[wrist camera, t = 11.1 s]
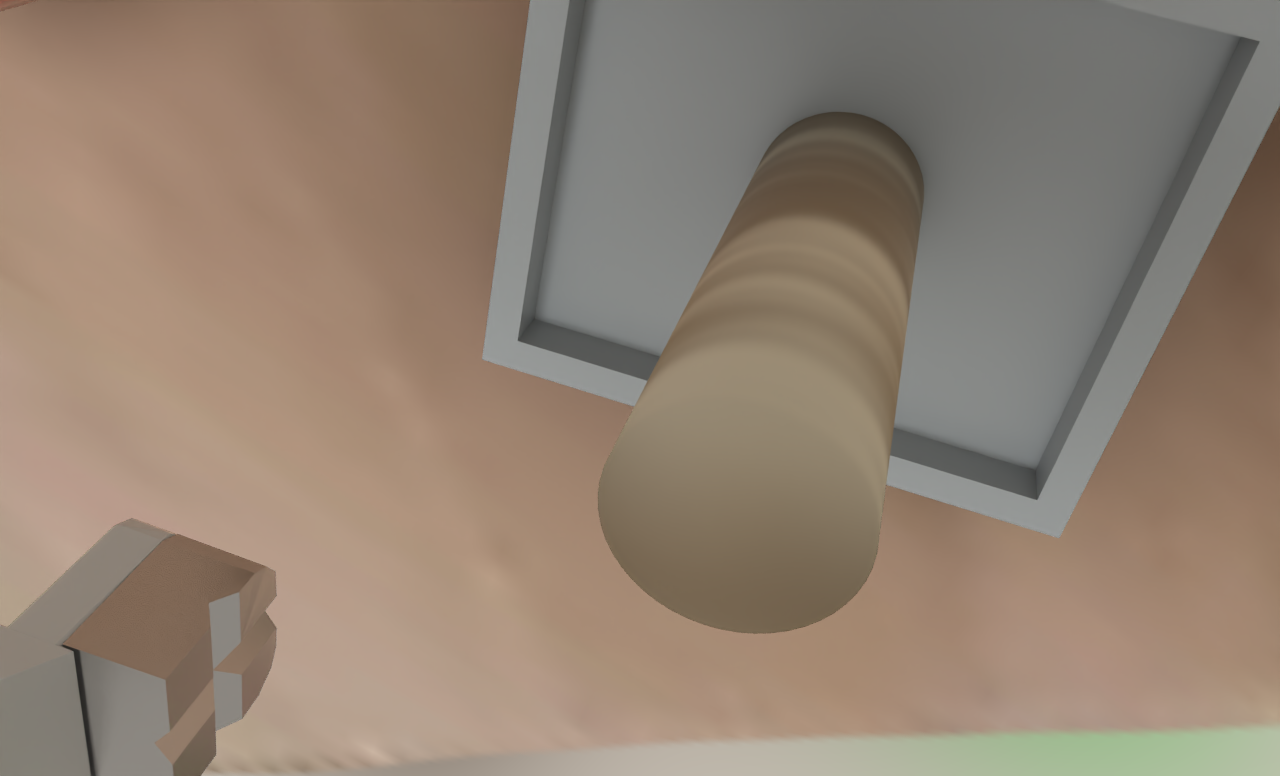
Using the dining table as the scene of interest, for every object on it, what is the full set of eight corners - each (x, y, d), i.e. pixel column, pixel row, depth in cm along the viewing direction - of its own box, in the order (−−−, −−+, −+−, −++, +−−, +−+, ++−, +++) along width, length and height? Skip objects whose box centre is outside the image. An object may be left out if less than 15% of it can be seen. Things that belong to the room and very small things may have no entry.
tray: (586, -192, 23) (554, -185, 21) (1302, -16, 21) (1329, 6, 19) (511, 323, 29) (481, 359, 27) (1054, 488, 28) (1058, 538, 26)
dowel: (778, 91, 24) (624, 362, 14) (948, 138, 23) (918, 453, 13) (737, 245, 26) (577, 583, 16) (893, 291, 25) (833, 667, 15)
